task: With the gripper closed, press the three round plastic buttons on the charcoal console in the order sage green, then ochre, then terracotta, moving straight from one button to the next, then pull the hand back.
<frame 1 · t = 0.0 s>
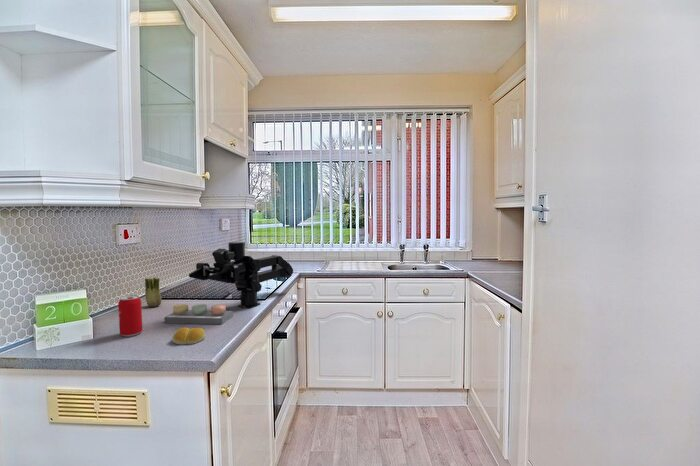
hand: (198, 276, 123), 17 cm above the worktop, tool horizontal, fingers open, 9 cm apart
fennel bulb: (154, 307, 146), on the worktop
bread roll: (188, 341, 109), on the worktop
ochre button: (180, 308, 129), point 4 cm above the worktop, slide at 0.0 cm
terracotta button: (218, 309, 128), point 4 cm above the worktop, slide at 0.0 cm
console: (199, 319, 129), on the worktop
beverage can: (131, 334, 114), on the worktop
sage button: (199, 308, 129), point 4 cm above the worktop, slide at 0.0 cm
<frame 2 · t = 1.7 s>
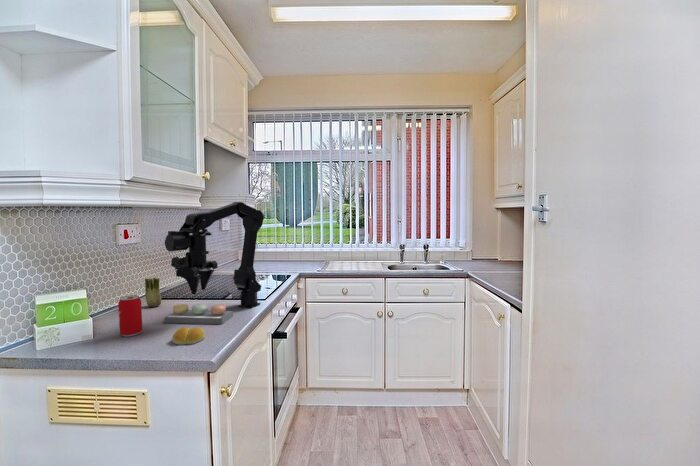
hand: (198, 292, 128), 10 cm above the worktop, tool pointing down, fingers open, 6 cm apart
nothing on the worktop moved.
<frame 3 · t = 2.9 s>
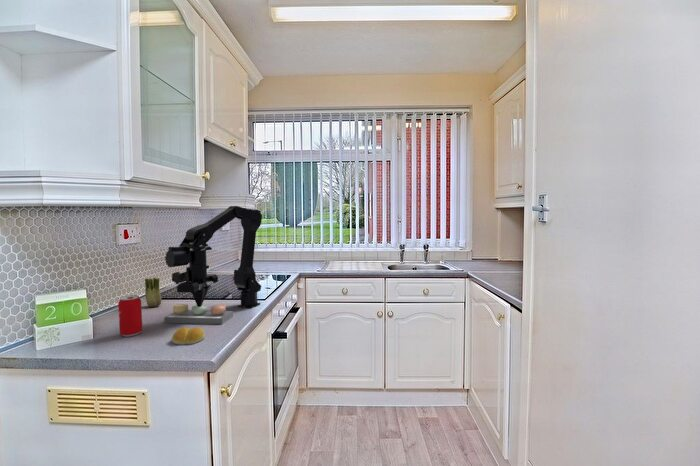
hand: (199, 306, 129), 5 cm above the worktop, tool pointing down, fingers closed, pressing on sage button
sage button: (199, 309, 129), point 4 cm above the worktop, slide at 0.1 cm, touching gripper
everything else where it was.
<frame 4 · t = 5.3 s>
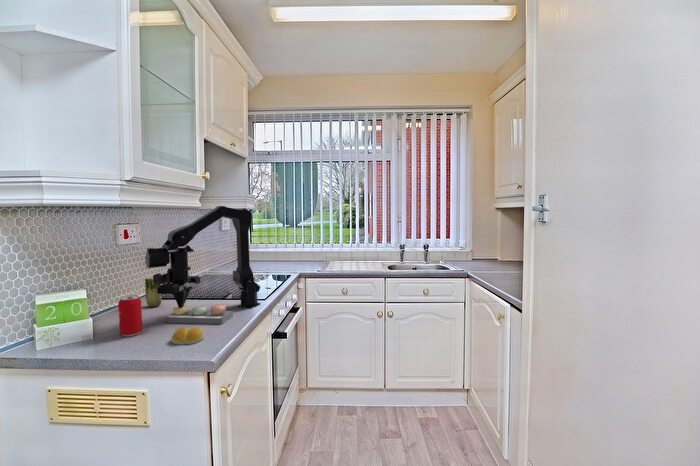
hand: (180, 307, 129), 4 cm above the worktop, tool pointing down, fingers closed, pressing on ochre button
ochre button: (180, 310, 129), point 3 cm above the worktop, slide at 0.7 cm, touching gripper
sage button: (199, 310, 129), point 3 cm above the worktop, slide at 0.7 cm
everything else where it was.
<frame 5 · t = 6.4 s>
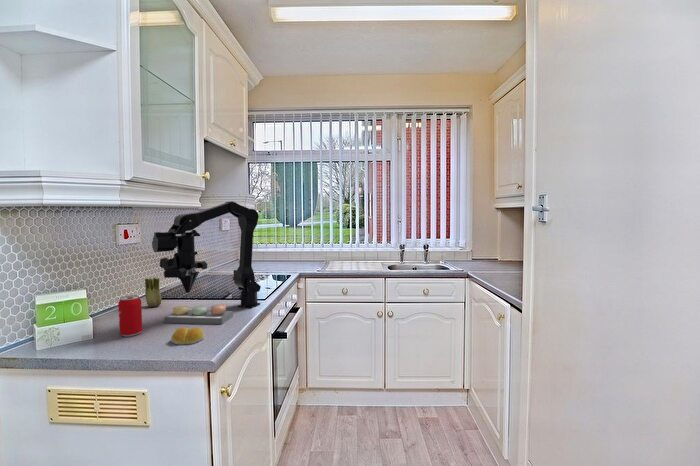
hand: (187, 292, 129), 10 cm above the worktop, tool pointing down, fingers closed
ochre button: (180, 310, 129), point 3 cm above the worktop, slide at 0.7 cm
everything else where it was.
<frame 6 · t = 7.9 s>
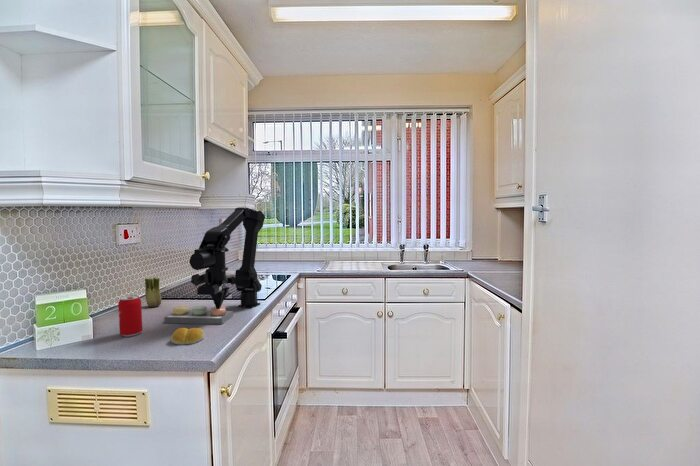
hand: (218, 308, 128), 4 cm above the worktop, tool pointing down, fingers closed, pressing on terracotta button
terracotta button: (218, 311, 128), point 3 cm above the worktop, slide at 0.7 cm, touching gripper
everything else where it was.
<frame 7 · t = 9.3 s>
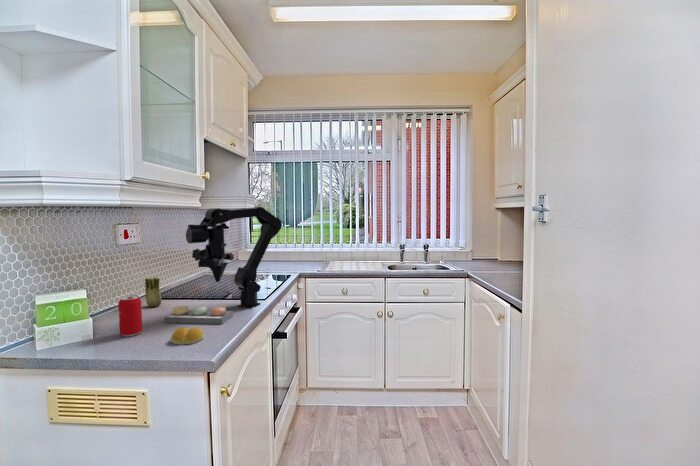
hand: (217, 281, 137), 12 cm above the worktop, tool pointing down, fingers closed
terracotta button: (218, 311, 128), point 3 cm above the worktop, slide at 0.7 cm
everything else where it was.
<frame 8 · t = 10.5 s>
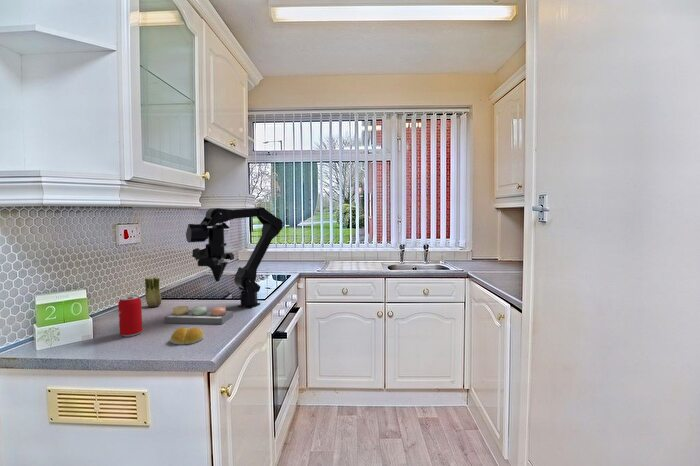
hand: (217, 281, 137), 12 cm above the worktop, tool pointing down, fingers closed
nothing on the worktop moved.
at the end: sage button slide at 0.7 cm; ochre button slide at 0.7 cm; terracotta button slide at 0.7 cm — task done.
